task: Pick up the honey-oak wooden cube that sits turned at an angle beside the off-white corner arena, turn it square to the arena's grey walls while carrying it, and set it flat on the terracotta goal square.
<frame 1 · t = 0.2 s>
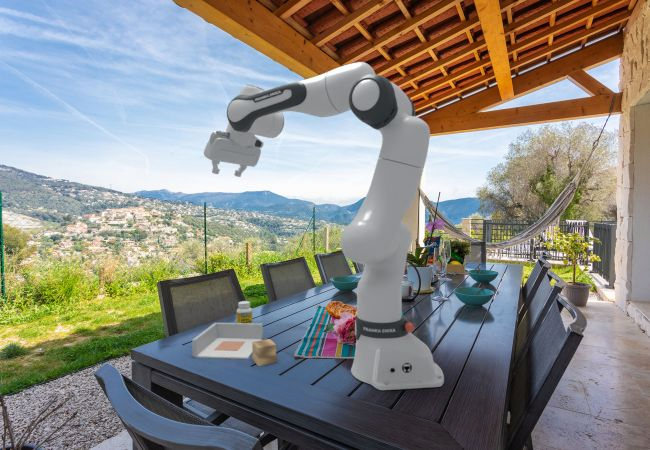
hand: (226, 174, 118), 54 cm above the table, fingers open, 8 cm apart
corner arena: (230, 347, 107), on the table
supplement bottle: (244, 330, 124), on the table
oak cube: (264, 361, 97), on the table
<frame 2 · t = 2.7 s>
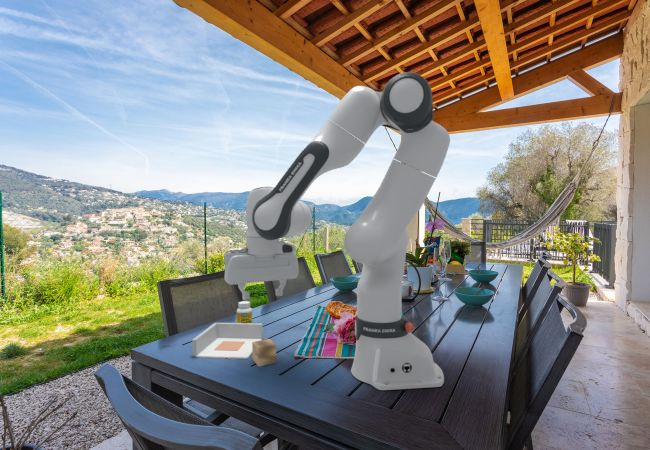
hand: (262, 297, 96), 17 cm above the table, fingers open, 8 cm apart
nothing on the table moved.
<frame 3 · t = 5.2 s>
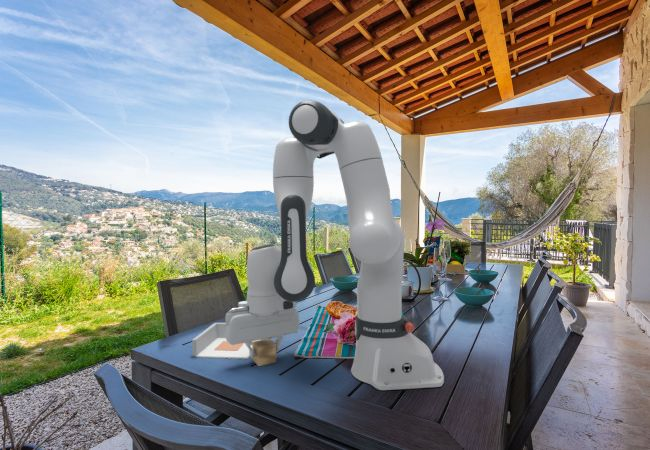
hand: (264, 353, 96), 2 cm above the table, fingers closed on oak cube, 5 cm apart
oak cube: (264, 360, 97), on the table, touching gripper
everything else where it was.
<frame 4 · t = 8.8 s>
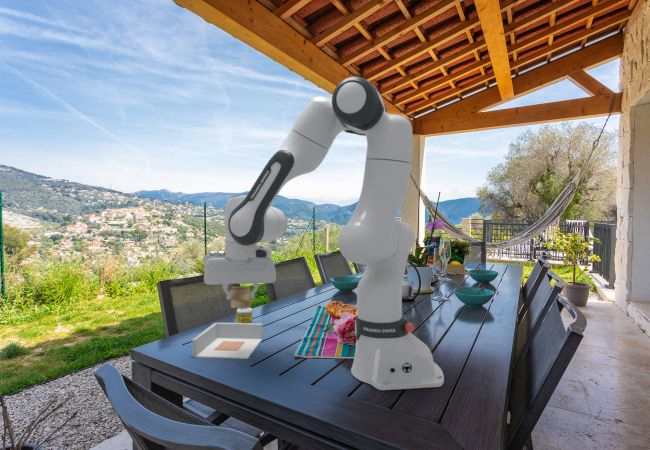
hand: (240, 298, 102), 16 cm above the table, fingers closed on oak cube, 5 cm apart
oak cube: (240, 305, 102), point 14 cm above the table, touching gripper
everything else where it was.
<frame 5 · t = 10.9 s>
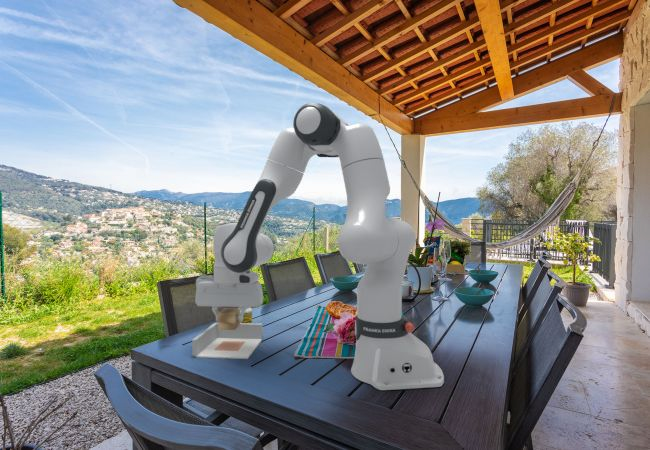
hand: (229, 320, 107), 8 cm above the table, fingers closed on oak cube, 5 cm apart
oak cube: (229, 327, 107), point 6 cm above the table, touching gripper
everything else where it was.
when the fingers open (3 cm above the table, at t = 12.7 s): oak cube stays where it is, resting on corner arena.
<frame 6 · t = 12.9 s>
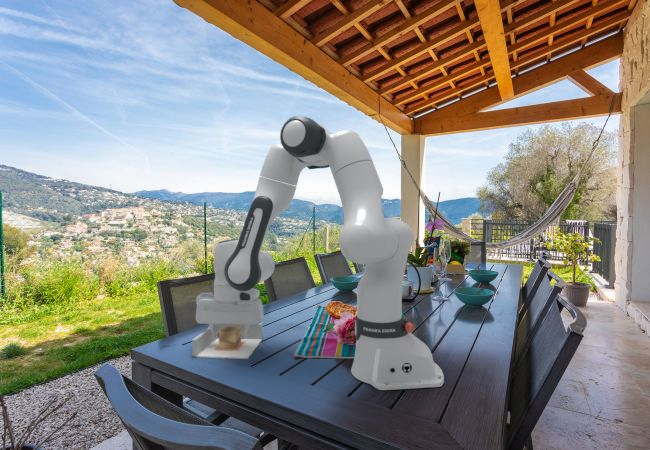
hand: (230, 338, 107), 3 cm above the table, fingers open, 7 cm apart
oak cube: (230, 345, 107), point 1 cm above the table, touching corner arena
everything else where it was.
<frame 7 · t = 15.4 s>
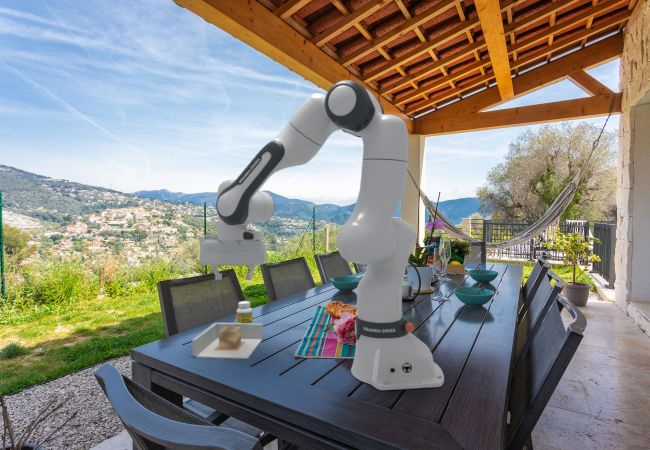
hand: (233, 279, 107), 20 cm above the table, fingers open, 8 cm apart
nothing on the table moved.
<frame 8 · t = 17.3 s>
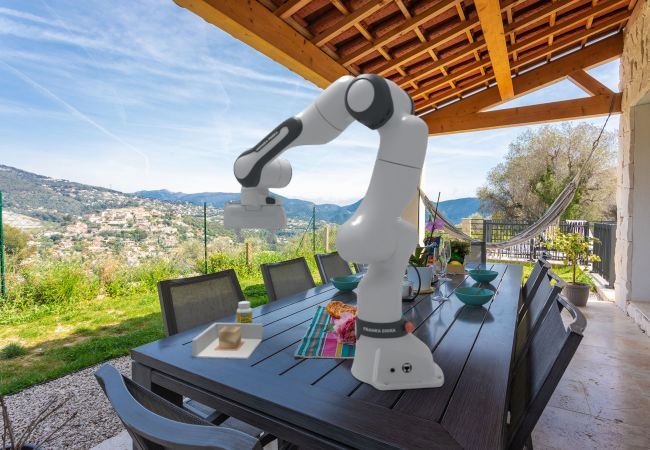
hand: (255, 243, 113), 31 cm above the table, fingers open, 8 cm apart
nothing on the table moved.
at the end: oak cube 0.1 cm from the target spot, point 0.6 cm above the table; oak cube tilted 0°; the gripper is holding nothing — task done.
